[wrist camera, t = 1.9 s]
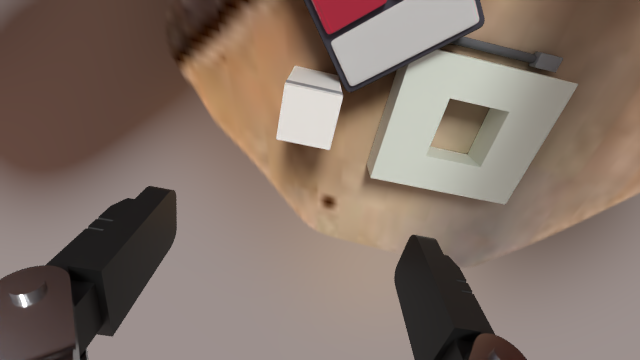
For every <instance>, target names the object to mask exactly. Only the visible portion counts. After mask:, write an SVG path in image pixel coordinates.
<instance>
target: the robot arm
mask: <svg viewBox="0 0 640 360" xmlns="http://www.w3.org/2000/svg"><path fill="white" fill-rule="evenodd" d="M176 223H177V222H176V193H175V191H174V190H169V189H164V188H158V187H153V186H148V187H147V188H145V190H144V191H143V192H142V193H140V194H139V196H137V197H136V198H135V199H130V198H127V199H125V200H122V201H120V202H118V203H116V204H114V205H112V206H110V207H109V208H108V209H107V210H106V211H105V212H103V213H102V214H101V215H100V216H99V218H98V219H96V220H95V221H94V222H92V223H91V224H90V225H89V227H88V229H85V230H84V231H83V232H82V233H80V234H79V235H78V236H77V237H76V238H75V239H74V240H73V241H71V242H70V243H69V244H68V245H67V246H66V247H65V248H64V249H63V250H62V251H60V253H58V254H57V255H56V256H55V257H54V258H53V259H52V260H51V261H49V262H48V263H47V264H46V265H42V266H34V267H29V268H25V269H21V270H19V271H16V272H13V273H11V274H9V275H7V276H5V277H3V278H1V279H0V360H88V351H87V347H88V345H89V344H90V342H91V341H92V339H93V338H94V337H95V335H96V334H99V335H106V336H113V335H114V333H115V332H116V330H117V329H118V327H119V326H120V324H121V323H122V321H123V320H124V318H125V317H126V315H127V314H128V312H129V310H130V309H131V307H132V306H133V304H134V303H135V301H136V300H137V298H138V296H139V295H140V294H141V292H142V291H143V289H144V287H145V286H146V284H147V283H148V281H149V280H150V278H151V277H152V275H153V274H154V272H155V271H156V269H157V267H158V266H159V264H160V263H161V261H162V260H163V258H164V257H165V255H166V254H167V252H168V251H169V249H170V248H171V246H172V244H173V241H174V239H175V235H176V228H177V227H176V225H177V224H176ZM395 286H396V290H397V294H398V297H399V302H400V305H401V309H402V313H403V317H404V321H405V325H406V328H407V332H408V336H409V340H410V344H411V347H412V351H413V355H414V359H415V360H527V359H526V358H525V356H524V355H523V354H522V353H521V352H520V351H519V350H518V349H517V348H516V347H515V346H514V345H512V344H511V343H510V342H508V341H507V340H505V339H504V338H502V337H499V336H497V335H495V333H494V331H493V330H492V328H491V326H490V324H489V322H488V321H487V319H486V316H485V315H484V313H483V311H482V309H481V307H480V305H479V303H478V301H477V300H476V298H475V296H474V294H472V290H471V288H470V287H469V285H468V283H466V279H465V277H464V275H463V273H462V272H461V270H460V268H459V267H458V266H457V265H456V264H455V263H454V262H453V260H452V259H451V258H450V257H449V256H447V255H444V254H443V252H442V250H441V248H440V246H439V244H438V242H437V240H436V239H434V238H429V237H423V236H418V235H412V236H411V237H410V238H409V240H408V242H407V244H406V246H405V249H404V251H403V253H402V255H401V258H400V260H399V262H398V264H397V267H396V270H395Z"/></svg>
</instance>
